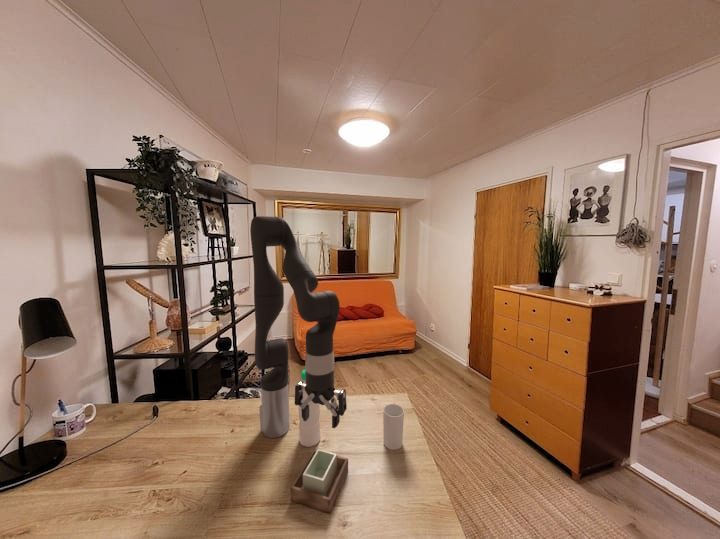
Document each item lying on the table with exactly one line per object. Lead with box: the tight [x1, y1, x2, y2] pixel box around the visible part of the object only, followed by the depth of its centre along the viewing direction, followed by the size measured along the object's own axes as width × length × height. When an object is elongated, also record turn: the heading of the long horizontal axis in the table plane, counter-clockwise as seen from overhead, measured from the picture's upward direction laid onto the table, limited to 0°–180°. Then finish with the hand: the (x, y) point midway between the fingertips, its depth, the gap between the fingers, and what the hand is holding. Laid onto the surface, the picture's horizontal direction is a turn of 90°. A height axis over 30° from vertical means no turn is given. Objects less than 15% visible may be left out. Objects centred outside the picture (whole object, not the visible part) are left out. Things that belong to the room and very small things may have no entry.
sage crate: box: [303, 448, 338, 496], centre depth 75 cm, size 6×9×6 cm, turn 162°
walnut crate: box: [290, 449, 349, 515], centre depth 75 cm, size 11×13×4 cm
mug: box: [382, 402, 405, 451], centre depth 91 cm, size 10×7×12 cm, turn 171°
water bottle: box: [298, 369, 321, 448], centre depth 90 cm, size 7×7×25 cm
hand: (320, 422), depth 73 cm, fingers open, 8 cm apart
